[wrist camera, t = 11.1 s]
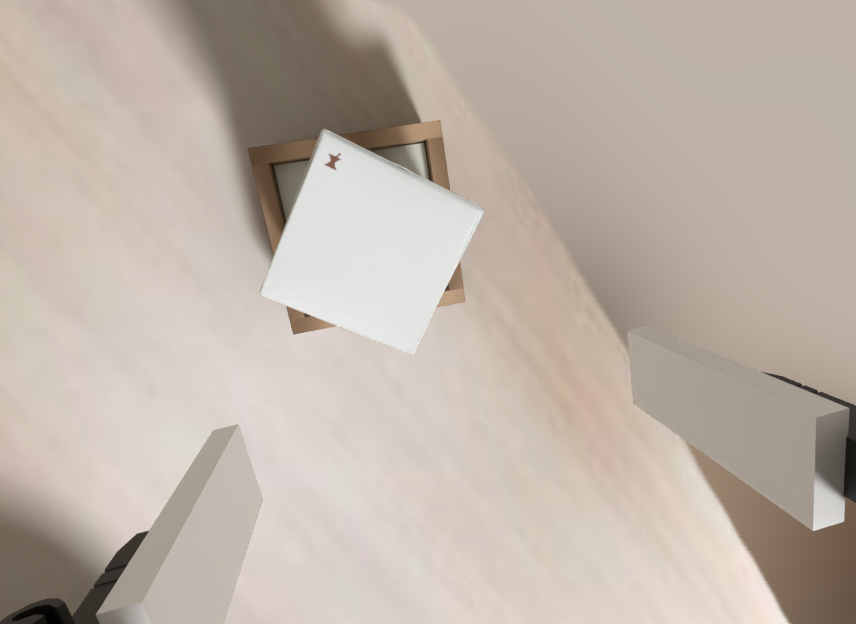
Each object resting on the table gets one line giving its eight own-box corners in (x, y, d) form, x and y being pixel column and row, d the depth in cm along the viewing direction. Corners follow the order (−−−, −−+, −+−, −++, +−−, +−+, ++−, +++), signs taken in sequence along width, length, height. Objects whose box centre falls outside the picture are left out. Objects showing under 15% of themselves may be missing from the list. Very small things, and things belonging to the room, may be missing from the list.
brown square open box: (304, 312, 37) (293, 334, 31) (267, 157, 34) (247, 148, 28) (449, 286, 38) (465, 301, 32) (426, 133, 35) (440, 120, 29)
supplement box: (293, 257, 31) (249, 294, 18) (337, 152, 29) (321, 118, 17) (393, 301, 32) (413, 361, 20) (439, 204, 31) (489, 205, 19)
